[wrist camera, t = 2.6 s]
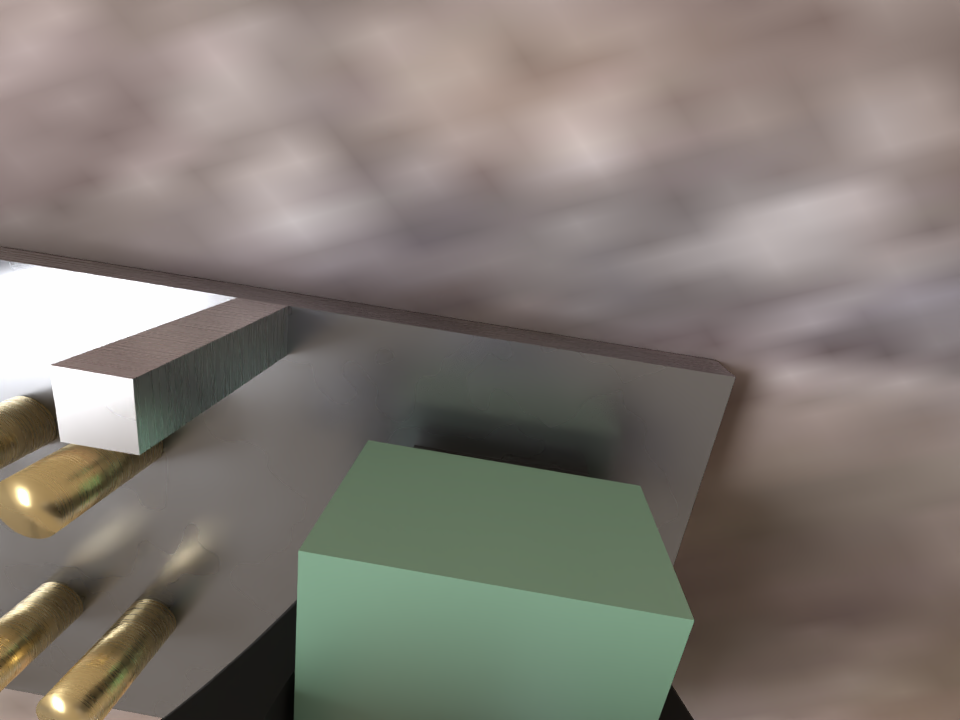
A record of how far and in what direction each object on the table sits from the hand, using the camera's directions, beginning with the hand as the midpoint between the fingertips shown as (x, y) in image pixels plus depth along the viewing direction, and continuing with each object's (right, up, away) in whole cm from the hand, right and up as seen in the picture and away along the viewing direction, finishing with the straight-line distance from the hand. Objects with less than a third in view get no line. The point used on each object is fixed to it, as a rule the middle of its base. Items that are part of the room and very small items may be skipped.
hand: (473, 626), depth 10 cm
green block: (0, 0, 0) cm, 0 cm away
